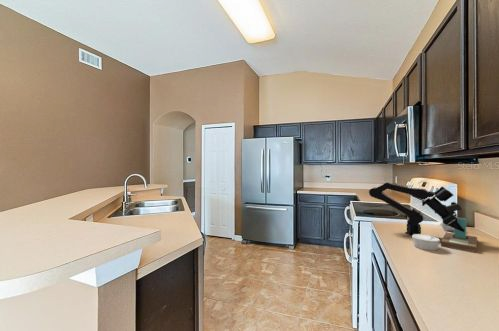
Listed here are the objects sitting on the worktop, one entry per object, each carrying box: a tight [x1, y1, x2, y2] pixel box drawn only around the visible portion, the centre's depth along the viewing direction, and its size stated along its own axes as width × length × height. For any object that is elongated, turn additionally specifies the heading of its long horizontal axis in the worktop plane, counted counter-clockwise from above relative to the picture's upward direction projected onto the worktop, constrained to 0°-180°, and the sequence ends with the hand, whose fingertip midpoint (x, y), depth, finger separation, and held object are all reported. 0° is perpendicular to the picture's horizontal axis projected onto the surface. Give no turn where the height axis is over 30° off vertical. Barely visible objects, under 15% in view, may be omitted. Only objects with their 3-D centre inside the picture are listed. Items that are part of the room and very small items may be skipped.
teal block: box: [454, 216, 467, 239], centre depth 129 cm, size 4×4×12 cm
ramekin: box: [411, 233, 441, 252], centre depth 120 cm, size 11×11×5 cm
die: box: [439, 218, 454, 232], centre depth 150 cm, size 8×9×10 cm
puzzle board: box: [440, 231, 478, 253], centre depth 125 cm, size 22×13×3 cm, turn 135°
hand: (463, 229), depth 128 cm, fingers open, 9 cm apart
